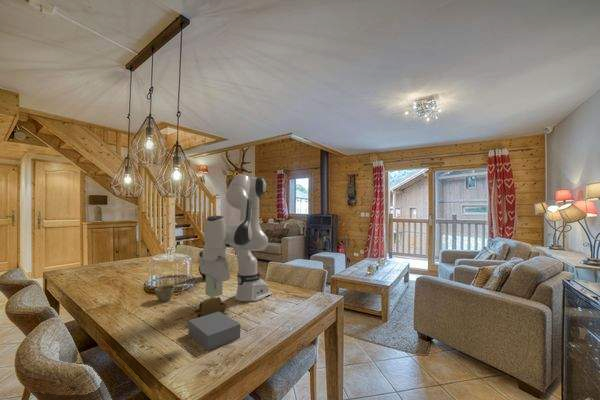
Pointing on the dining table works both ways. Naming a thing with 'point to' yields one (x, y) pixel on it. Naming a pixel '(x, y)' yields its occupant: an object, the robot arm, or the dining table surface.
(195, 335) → the slate block
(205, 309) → the wooden carving
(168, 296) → the flower pot
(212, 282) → the sage block
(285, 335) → the dining table surface
